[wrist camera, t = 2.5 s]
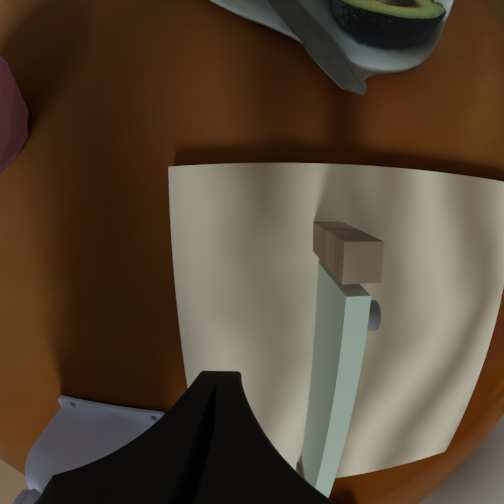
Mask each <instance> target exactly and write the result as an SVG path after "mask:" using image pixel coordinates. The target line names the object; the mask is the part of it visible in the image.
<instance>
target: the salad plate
mask: <svg viewBox="0 0 504 504" xmlns="http://www.w3.org/2000/svg"><path fill="white" fill-rule="evenodd" d="M210 1H211V2H213V3H215V4H217V5H219V6H221V7H223V8H225V9H227V10H229V11H231V12H233V13H235V14H237V15H240V16H242V17H244V18H245V19H248V20H251V21H254V22H257V23H260V24H262V25H264V26H267V27H269V28H271V29H273V30H275V31H278V32H280V33H282V34H284V35H287V36H289V37H291V38H293V39H294V40H296V41H297V42H299V43H300V44H302V45H303V46H304V47H305V50H306V52H307V53H308V54H309V55H310V56H311V57H312V59H313V60H314V61H315V62H316V64H317V65H318V66H319V67H320V68H321V69H322V70H323V71H324V72H325V73H326V74H327V75H328V76H329V77H330V78H331V79H332V80H333V81H334V82H335V83H336V84H337V85H338V86H339V87H340V88H341V89H343V90H348V91H351V92H355V93H357V94H359V95H362V96H364V94H365V89H366V88H367V85H366V83H365V79H366V78H368V77H371V76H375V75H386V74H387V75H388V74H394V73H402V72H407V71H409V70H411V69H415V68H417V67H418V66H420V65H421V64H422V63H424V62H425V60H426V59H427V58H428V57H429V56H430V55H431V53H432V52H433V50H434V49H435V47H436V45H437V43H438V41H439V38H440V36H441V33H442V31H443V28H444V26H445V23H446V20H447V18H448V16H449V13H450V10H451V8H452V6H453V3H454V0H210Z"/></svg>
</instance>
